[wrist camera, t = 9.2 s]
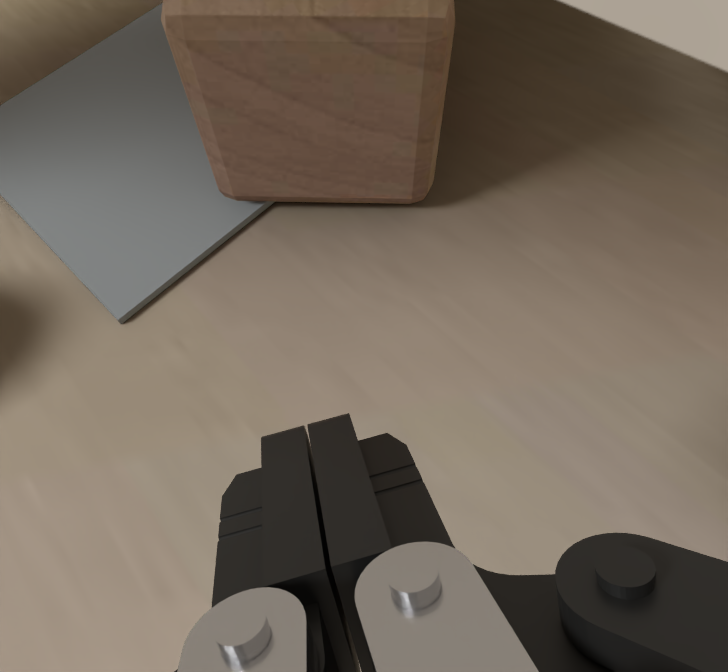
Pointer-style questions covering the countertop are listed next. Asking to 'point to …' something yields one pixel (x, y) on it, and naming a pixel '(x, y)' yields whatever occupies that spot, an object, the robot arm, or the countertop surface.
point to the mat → (117, 169)
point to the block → (316, 94)
